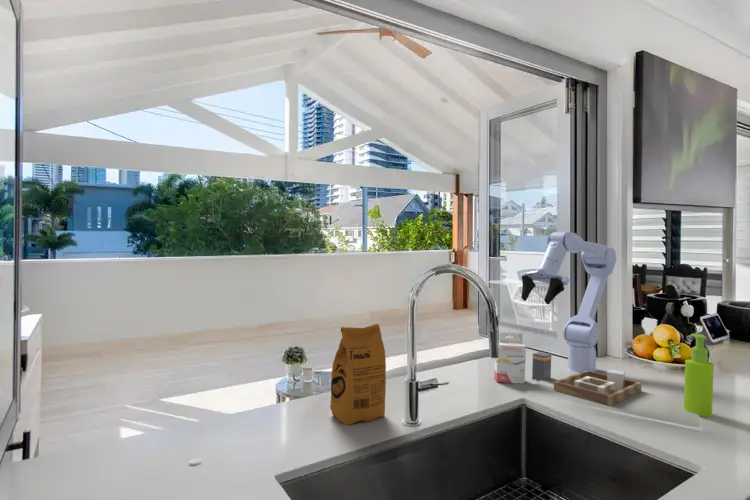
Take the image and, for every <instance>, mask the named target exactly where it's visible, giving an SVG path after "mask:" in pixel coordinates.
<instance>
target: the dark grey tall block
mask: <svg viewBox="0 0 750 500" xmlns="http://www.w3.org/2000/svg"><path fill="white" fill-rule="evenodd" d="M531 368H532V373H531V374H532V375H531V376H532V377H531V379H532V380H535V379H536V381H539V382H541V381H546V380H548V379H551V376H552V374H551V373H552V354H551V353H548V352H547V353H546V352H543V351H537V352H534V353H532V367H531Z"/></svg>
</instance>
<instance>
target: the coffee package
mask: <svg viewBox="0 0 750 500" xmlns="http://www.w3.org/2000/svg"><path fill="white" fill-rule="evenodd" d="M340 333H341V336H342V337H341V338H340V342H339V345H338V348H337V351H336V353H335V355H334V358H333V361H332V367H331V368H332V369H331V377H330V378H331V381H330V382H331V384H330V405H329V408H330V411H331V415H332V416H333V417H335V418H336V419H337V420H338V422H340V423H341V424H343V425H346V426H349V425H353V424H356V423H357V422H372V421H375V420H377V419H378V418H382V417H384V416H385V415H386V411H385V410H386V389H387V387H386V385H387V382H386V381H387V380H386V379H387V372H386V369H387V364H386V363H387V362H386V361H387V359H386V350H385V347H384V346H385V344H384V342H383V338H382V336H383V335H382V332H381V327H380V324H379V323H374V324H370V325H368V326H365V327H351V326H341V327H340Z"/></svg>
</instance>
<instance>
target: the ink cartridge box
mask: <svg viewBox="0 0 750 500" xmlns="http://www.w3.org/2000/svg"><path fill="white" fill-rule="evenodd" d="M499 332H500V358H498V359H495V358H494V371H493V373H494V375H493V376H494V380H495V381H496V383H501V382H506V383H505V384H518V383H525V382H526V381H525V380H526V357H527V355H526V354H527V353H526V352H527V350H526V349H527V348H526V344H524V343H523V333H522V332H503V331H502V332H501V331H499ZM509 336H510V337H511V338H510V337H509ZM512 337H513V338H512Z"/></svg>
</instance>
